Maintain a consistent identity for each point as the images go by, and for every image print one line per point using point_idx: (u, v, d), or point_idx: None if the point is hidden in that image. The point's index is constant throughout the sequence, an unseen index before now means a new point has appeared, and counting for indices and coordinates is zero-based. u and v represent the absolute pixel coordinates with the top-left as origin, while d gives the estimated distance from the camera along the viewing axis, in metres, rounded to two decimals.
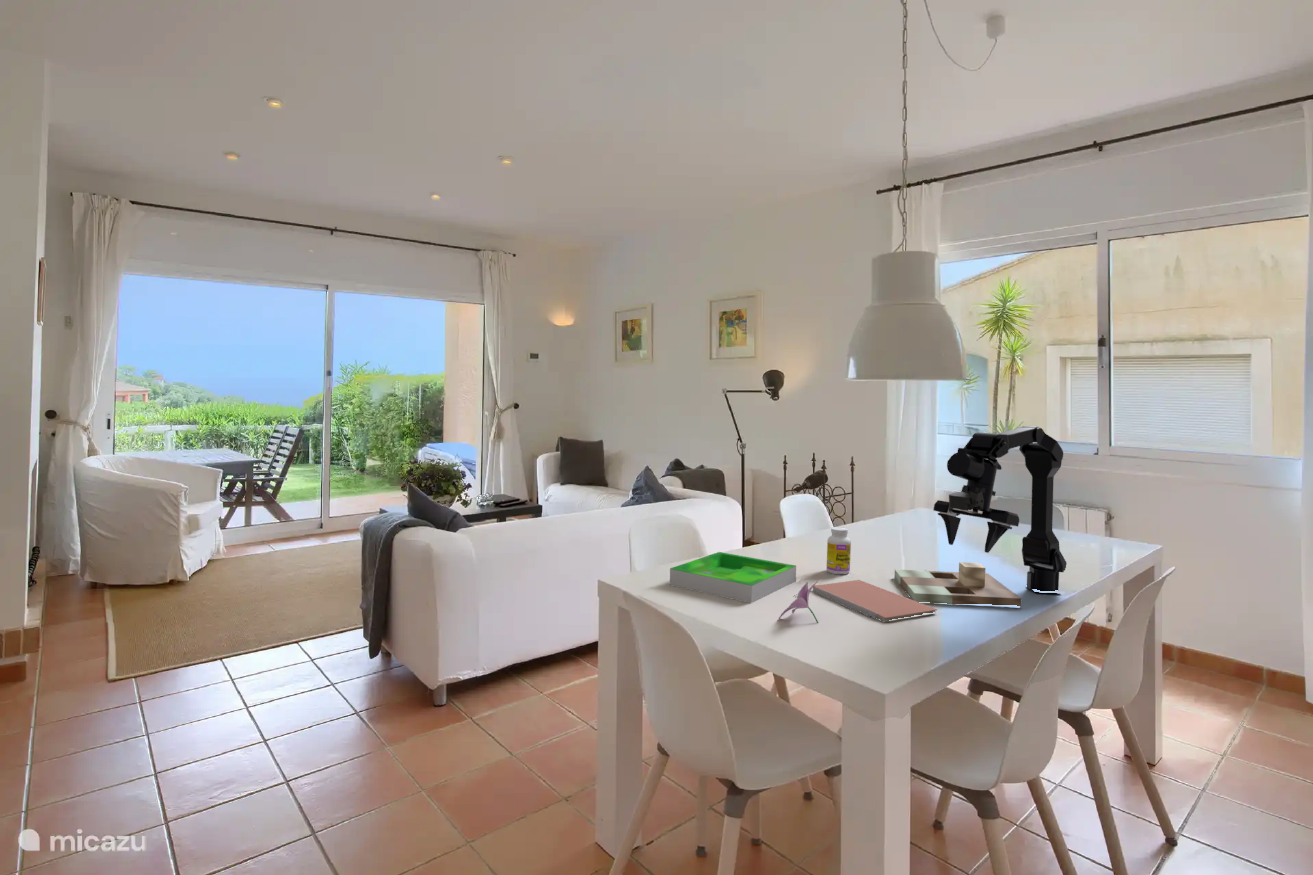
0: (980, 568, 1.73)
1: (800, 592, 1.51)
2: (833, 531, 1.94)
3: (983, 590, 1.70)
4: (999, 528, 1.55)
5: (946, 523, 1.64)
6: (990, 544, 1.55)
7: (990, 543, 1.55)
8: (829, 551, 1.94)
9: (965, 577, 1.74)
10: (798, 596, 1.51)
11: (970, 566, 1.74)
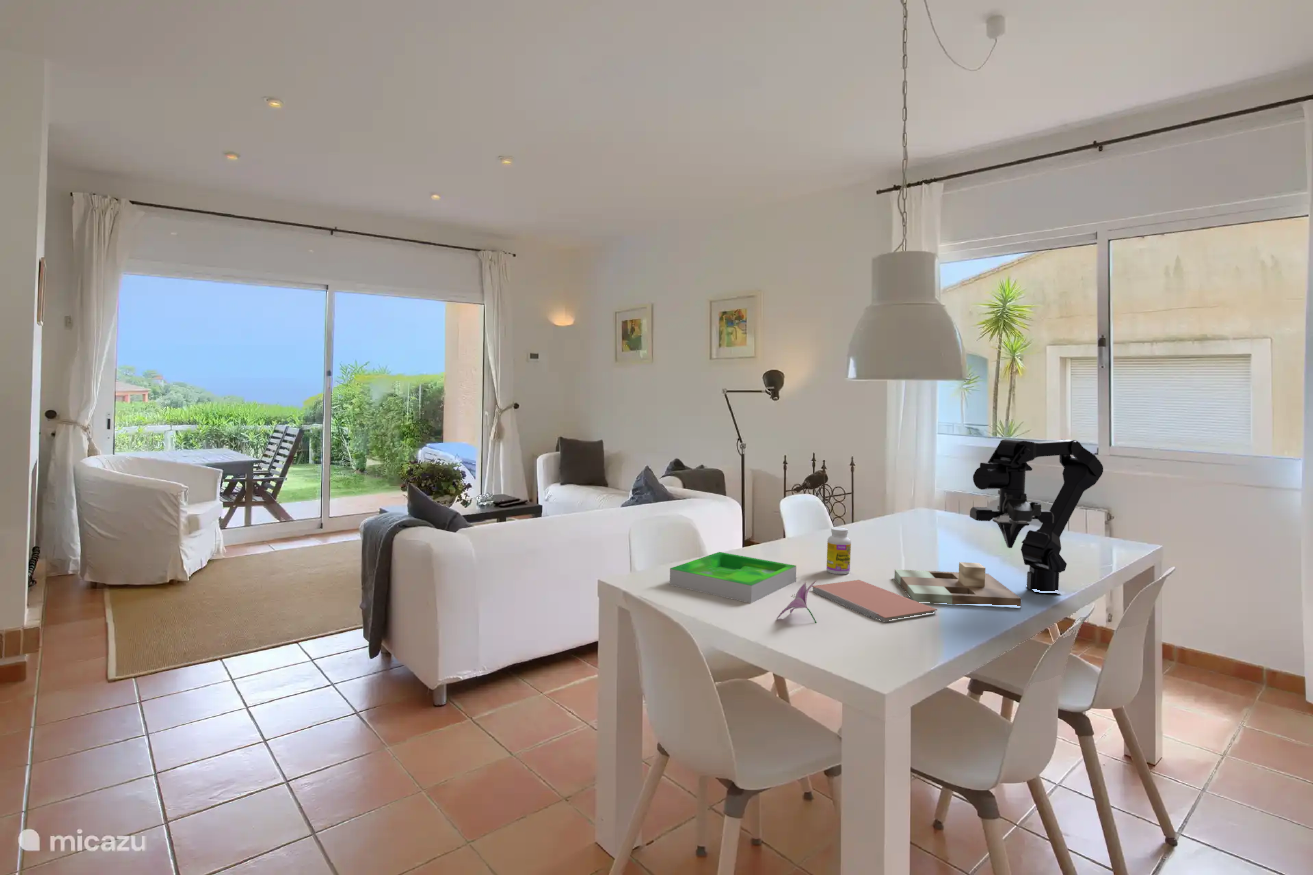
0: (980, 568, 1.73)
1: (799, 592, 1.51)
2: (833, 531, 1.94)
3: (983, 590, 1.70)
4: None
5: (1006, 530, 1.73)
6: None
7: None
8: (829, 551, 1.94)
9: (965, 577, 1.74)
10: (796, 596, 1.51)
11: (970, 566, 1.74)
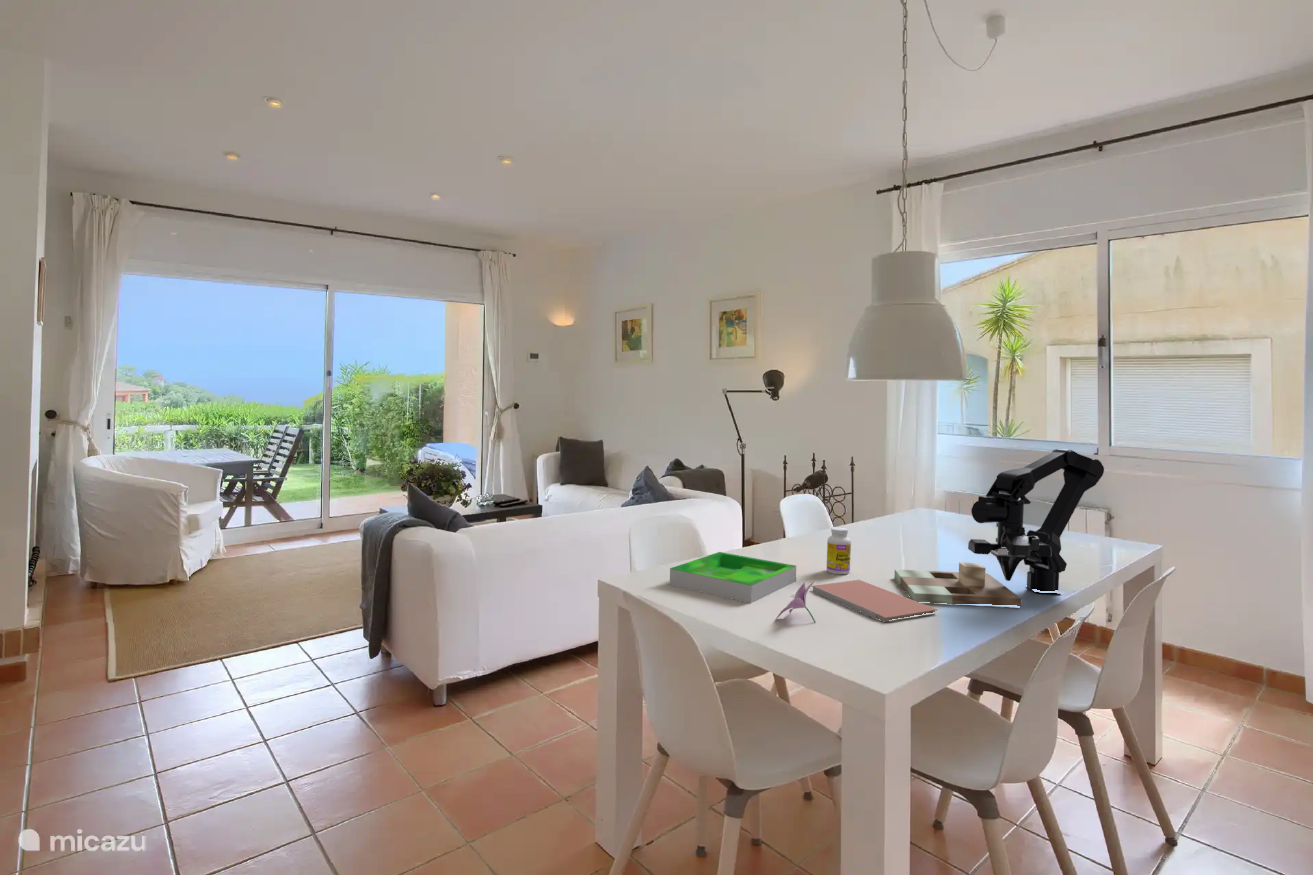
0: (980, 568, 1.73)
1: (798, 592, 1.51)
2: (833, 531, 1.94)
3: (983, 590, 1.70)
4: None
5: (1004, 563, 1.73)
6: None
7: None
8: (829, 551, 1.94)
9: (965, 577, 1.74)
10: (795, 596, 1.51)
11: (970, 566, 1.74)
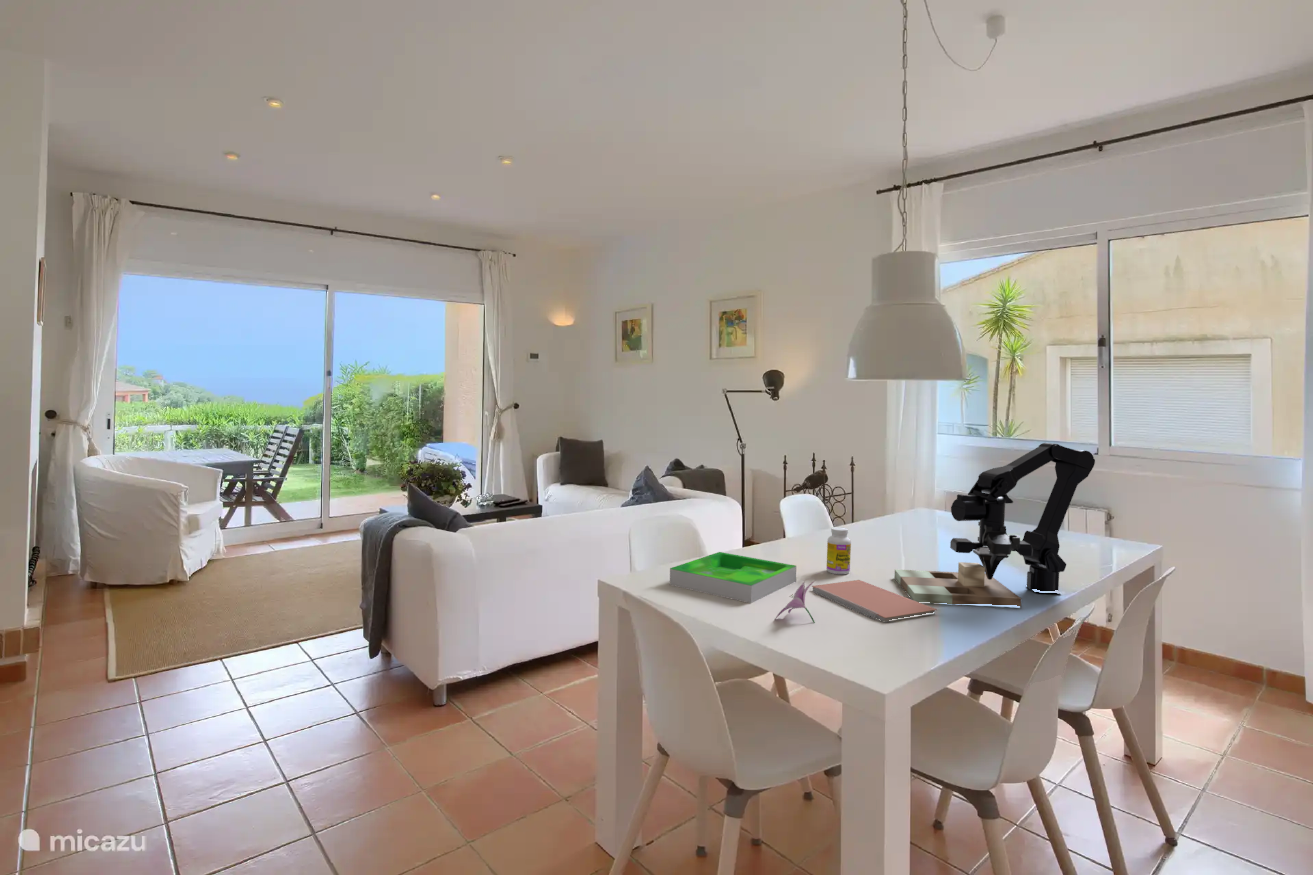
0: (979, 568, 1.73)
1: (797, 592, 1.51)
2: (833, 531, 1.94)
3: (983, 590, 1.70)
4: None
5: (986, 562, 1.74)
6: None
7: None
8: (829, 551, 1.94)
9: (965, 577, 1.74)
10: (795, 596, 1.51)
11: (969, 566, 1.74)
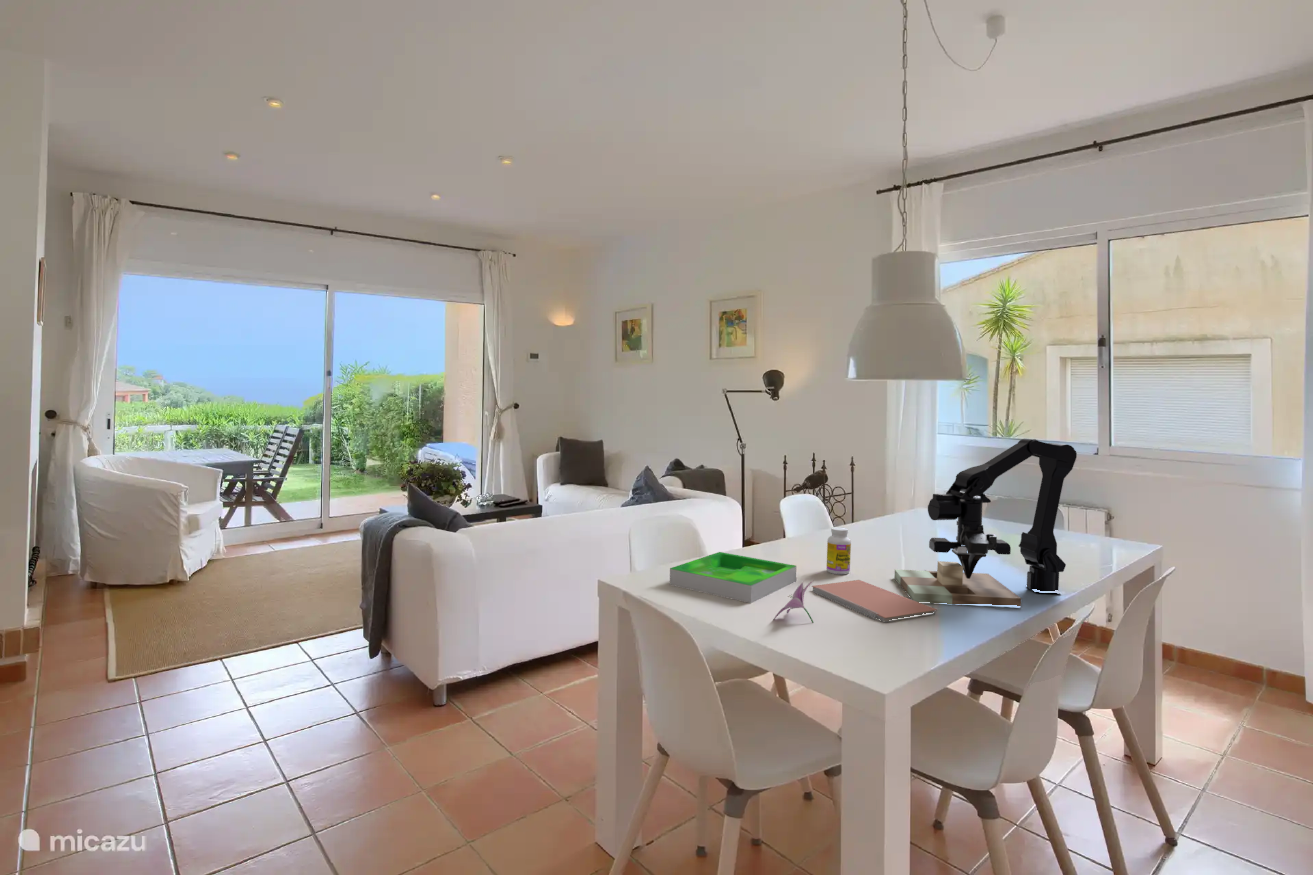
0: (958, 567, 1.74)
1: (796, 592, 1.51)
2: (833, 531, 1.94)
3: (983, 590, 1.70)
4: None
5: (964, 561, 1.75)
6: None
7: None
8: (829, 551, 1.94)
9: (943, 576, 1.75)
10: (793, 596, 1.51)
11: (948, 565, 1.75)
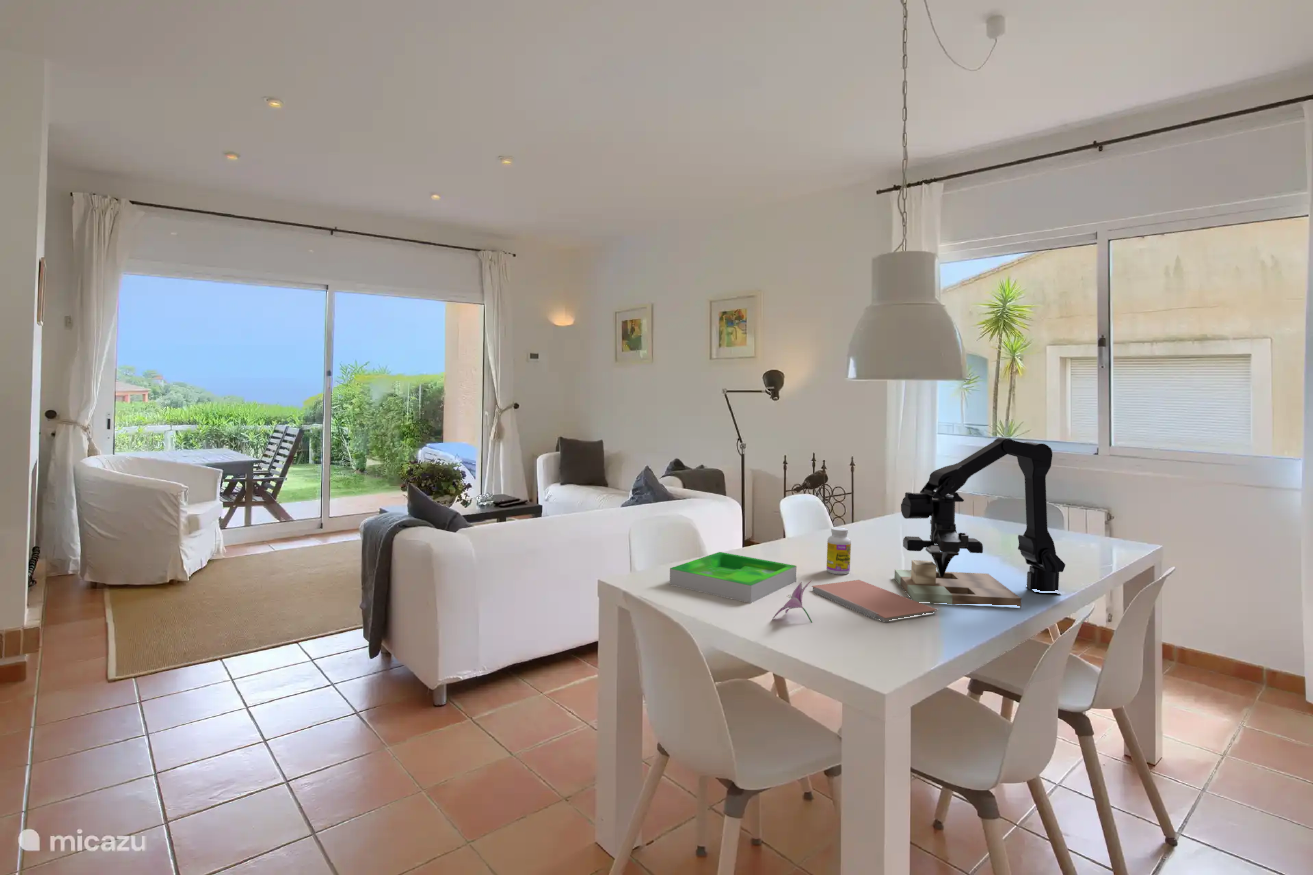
0: (931, 566, 1.75)
1: (794, 592, 1.51)
2: (833, 531, 1.94)
3: (983, 590, 1.70)
4: None
5: (938, 559, 1.75)
6: None
7: None
8: (829, 551, 1.94)
9: (916, 575, 1.75)
10: (792, 596, 1.51)
11: (921, 564, 1.76)
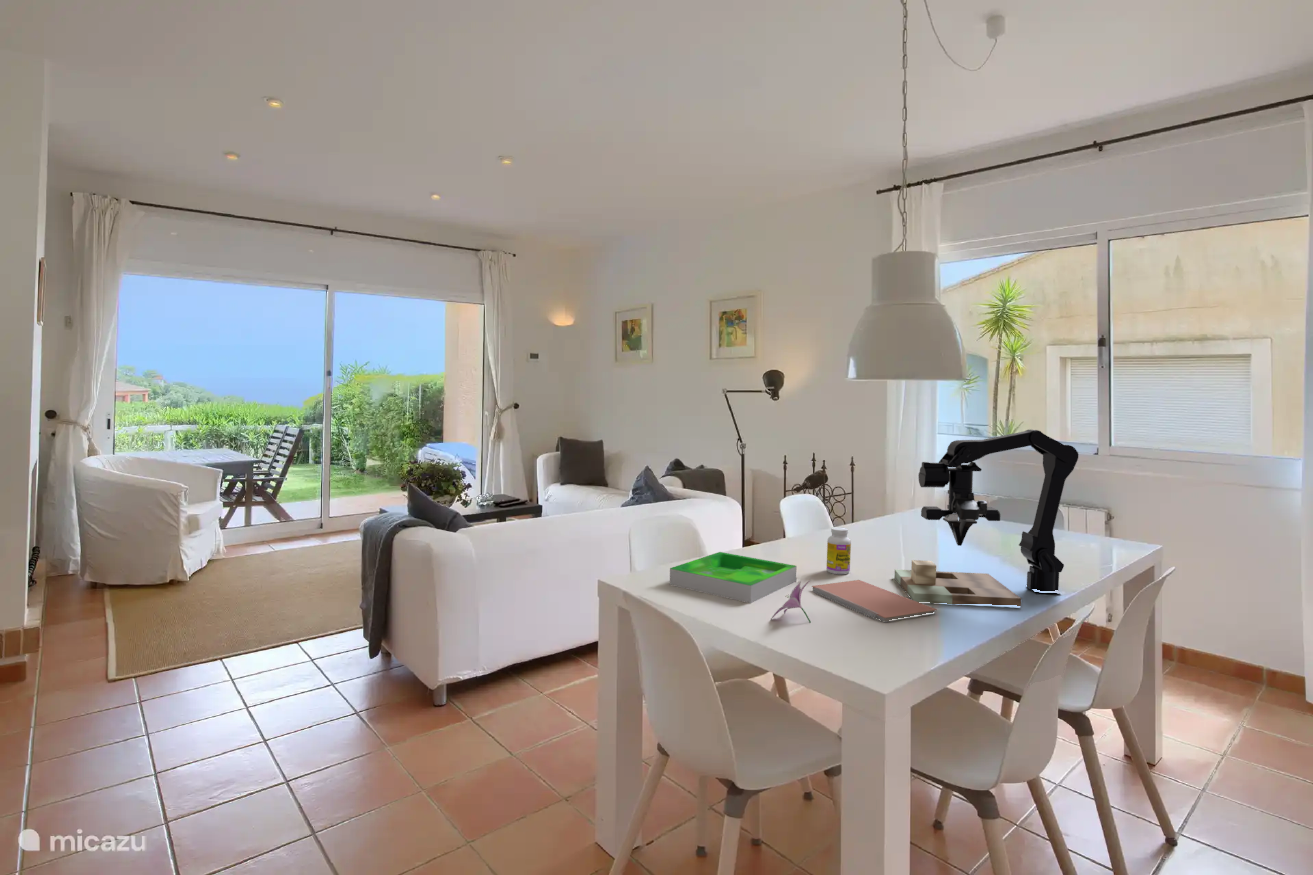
0: (931, 566, 1.75)
1: (793, 592, 1.51)
2: (833, 531, 1.94)
3: (983, 590, 1.70)
4: None
5: (955, 528, 1.78)
6: None
7: None
8: (829, 551, 1.94)
9: (916, 575, 1.75)
10: (791, 596, 1.51)
11: (921, 564, 1.76)
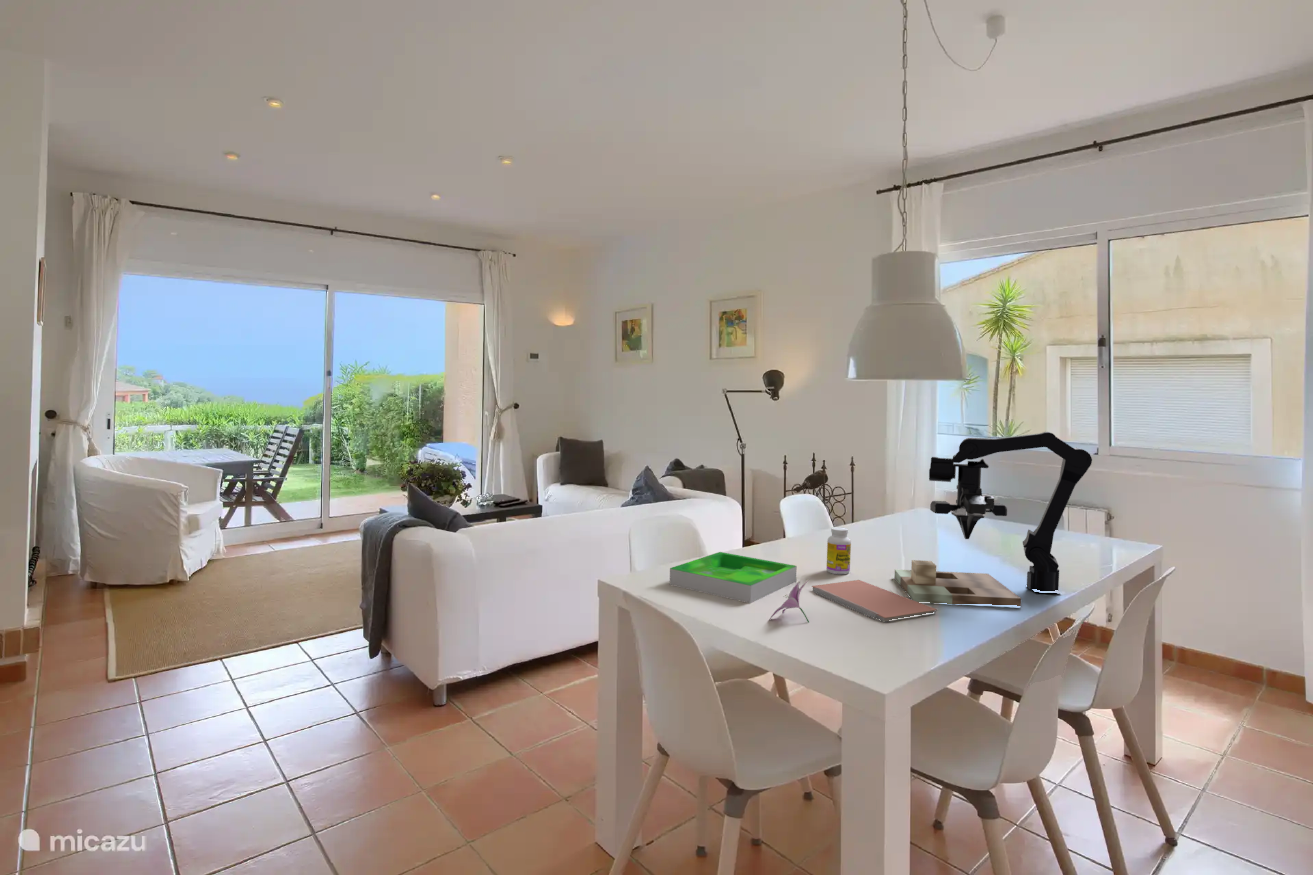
0: (931, 566, 1.75)
1: (792, 592, 1.51)
2: (833, 531, 1.94)
3: (983, 590, 1.70)
4: None
5: (963, 522, 1.85)
6: None
7: None
8: (829, 551, 1.94)
9: (916, 575, 1.75)
10: (789, 596, 1.51)
11: (921, 564, 1.76)
